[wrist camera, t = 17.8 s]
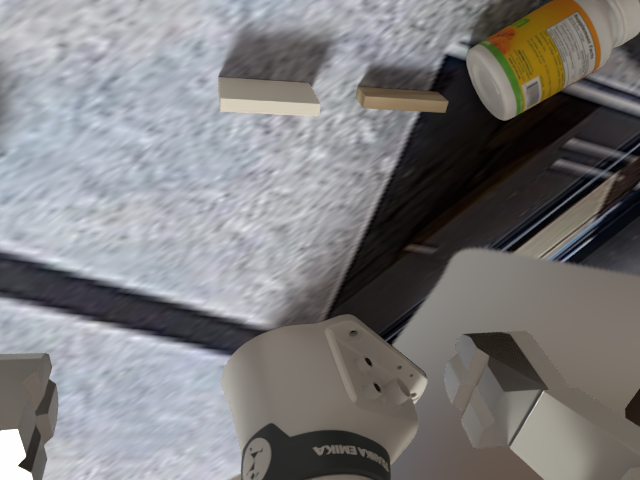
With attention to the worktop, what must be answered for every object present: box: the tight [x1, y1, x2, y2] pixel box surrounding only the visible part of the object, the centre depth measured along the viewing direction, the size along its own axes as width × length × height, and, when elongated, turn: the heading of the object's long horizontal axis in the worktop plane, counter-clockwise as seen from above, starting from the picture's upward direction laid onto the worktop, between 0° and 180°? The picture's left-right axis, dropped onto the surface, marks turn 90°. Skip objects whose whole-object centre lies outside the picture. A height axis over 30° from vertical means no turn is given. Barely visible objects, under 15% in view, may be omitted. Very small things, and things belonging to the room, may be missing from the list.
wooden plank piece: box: [356, 86, 448, 113], centre depth 32 cm, size 10×6×2 cm, turn 173°
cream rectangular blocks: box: [218, 77, 321, 117], centre depth 29 cm, size 10×6×4 cm, turn 172°
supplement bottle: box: [466, 0, 640, 120], centre depth 33 cm, size 5×5×10 cm
